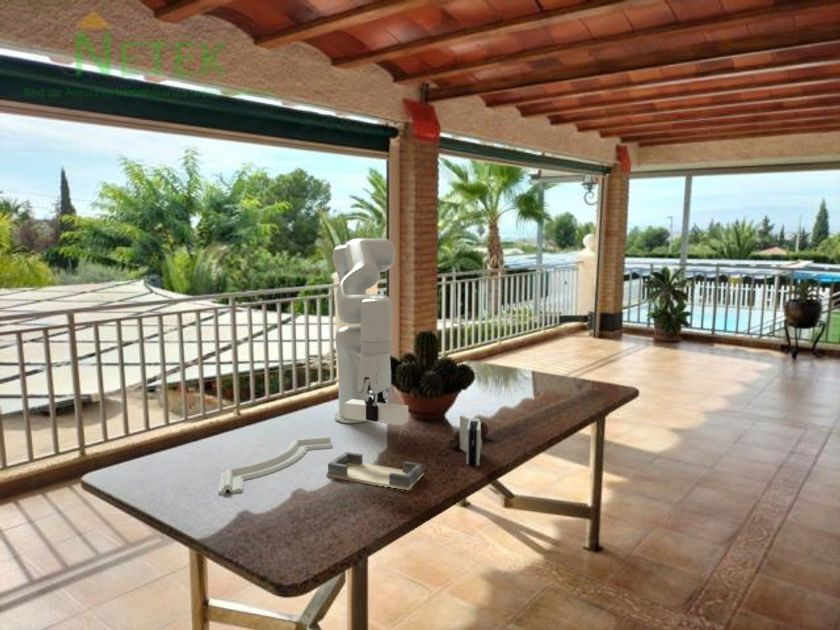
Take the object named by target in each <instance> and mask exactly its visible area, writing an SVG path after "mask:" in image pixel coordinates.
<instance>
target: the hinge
mask: <svg viewBox="0 0 840 630" xmlns="http://www.w3.org/2000/svg"><path fill="white" fill-rule="evenodd" d="M481 421H482V420H480V418H477V417H474V418H469V417H467V416H464V415H463V414H461V415H459V430H460V446H459V449H460V450H461V449H462V450H461V451H463V452H465V453H466V452H467V453H466V460H465V461H466V462H465V463H466V465H467V464H469V465H471V466H472V460H473V467H476V466H480V461H479V460H481V459H480V458H481V449H482V447H483V445H482V443H483V438H481ZM469 465H468V466H469Z"/></svg>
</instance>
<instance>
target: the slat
mask: <svg viewBox="0 0 840 630" xmlns="http://www.w3.org/2000/svg"><path fill="white" fill-rule="evenodd" d="M377 405H378V421H369V420H366V405H365V401H364V400H356V399H351V400H349V401H347V402H345V418H349V419H356V420H363V421H366V422H372V423H377V424H378V423H380V424H387V425H393V426H394V425H395V426H401V427H402V426H404V425H405V424H406V423H408V422H409V405H405V404H404V405H403V404H395V403H388V402H386V403H380V402H377Z"/></svg>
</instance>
